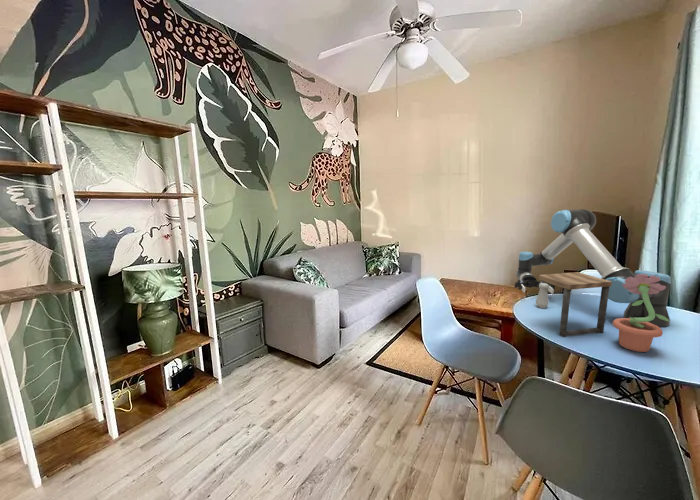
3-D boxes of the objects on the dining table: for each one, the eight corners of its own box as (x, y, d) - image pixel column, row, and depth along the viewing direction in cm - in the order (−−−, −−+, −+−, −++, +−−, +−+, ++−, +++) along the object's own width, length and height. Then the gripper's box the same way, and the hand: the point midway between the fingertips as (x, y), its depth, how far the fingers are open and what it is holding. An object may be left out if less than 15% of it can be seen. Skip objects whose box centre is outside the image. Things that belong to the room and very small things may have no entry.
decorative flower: (661, 346, 114) (674, 272, 108) (665, 362, 104) (680, 280, 98) (610, 335, 124) (619, 266, 118) (609, 348, 114) (620, 274, 108)
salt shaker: (534, 307, 156) (536, 283, 154) (536, 304, 160) (538, 281, 158) (547, 309, 152) (549, 285, 150) (549, 306, 156) (551, 283, 154)
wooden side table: (573, 318, 142) (578, 272, 138) (605, 332, 126) (612, 281, 122) (534, 321, 139) (538, 274, 135) (562, 337, 124) (568, 285, 119)
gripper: (551, 287, 178) (564, 298, 158) (505, 284, 186) (512, 295, 166) (552, 275, 177) (565, 285, 157) (506, 273, 184) (513, 282, 164)
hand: (538, 290), depth 161 cm, fingers open, 13 cm apart
